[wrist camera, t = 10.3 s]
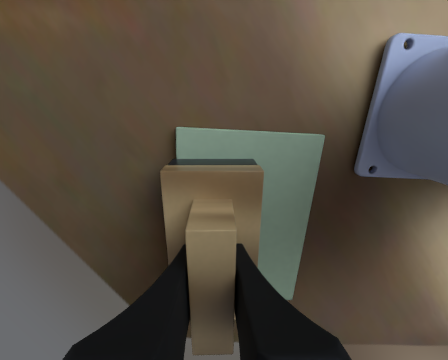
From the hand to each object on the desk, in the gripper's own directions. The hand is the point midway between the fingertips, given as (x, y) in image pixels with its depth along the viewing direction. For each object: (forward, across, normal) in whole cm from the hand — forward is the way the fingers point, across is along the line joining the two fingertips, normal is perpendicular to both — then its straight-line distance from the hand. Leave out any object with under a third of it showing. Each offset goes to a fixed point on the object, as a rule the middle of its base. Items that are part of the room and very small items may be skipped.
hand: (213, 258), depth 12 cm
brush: (+3, 0, 0) cm, 3 cm away
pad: (+3, -2, 0) cm, 4 cm away
